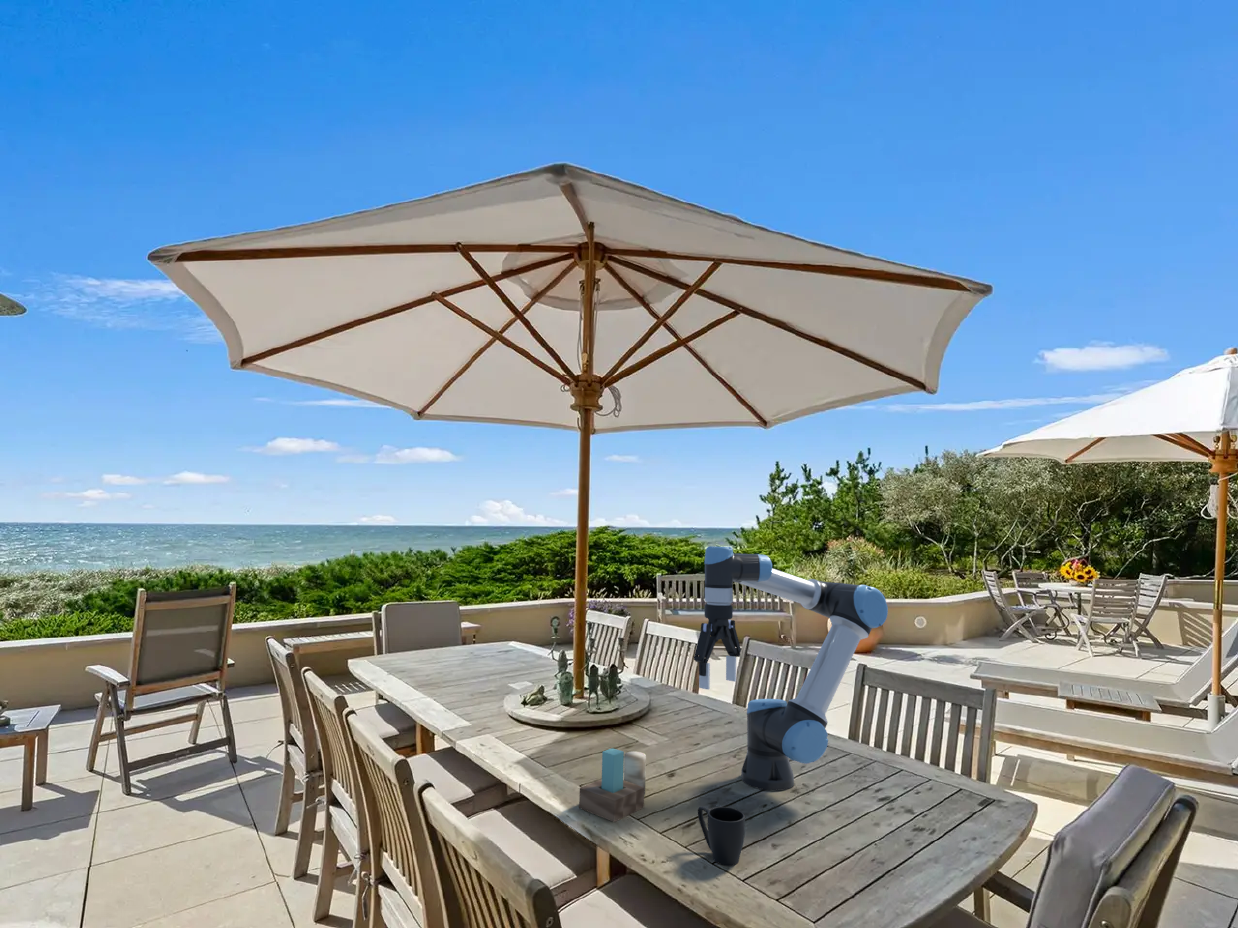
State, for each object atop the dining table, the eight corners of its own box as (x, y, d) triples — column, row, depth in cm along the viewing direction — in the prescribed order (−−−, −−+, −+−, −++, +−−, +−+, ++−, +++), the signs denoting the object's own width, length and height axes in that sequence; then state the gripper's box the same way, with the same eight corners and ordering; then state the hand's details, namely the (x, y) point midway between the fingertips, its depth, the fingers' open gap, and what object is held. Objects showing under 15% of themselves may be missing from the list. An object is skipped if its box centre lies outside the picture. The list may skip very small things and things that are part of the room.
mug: (711, 840, 149) (712, 797, 150) (752, 861, 140) (752, 815, 141) (687, 850, 144) (687, 806, 145) (727, 872, 135) (728, 825, 136)
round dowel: (632, 786, 181) (633, 749, 182) (649, 792, 177) (650, 754, 178) (619, 792, 176) (620, 754, 177) (636, 798, 172) (636, 760, 174)
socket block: (609, 794, 175) (609, 775, 175) (643, 807, 167) (644, 787, 168) (579, 807, 166) (579, 787, 166) (614, 821, 158) (614, 800, 158)
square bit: (611, 803, 169) (612, 748, 171) (622, 807, 167) (623, 751, 168) (601, 807, 166) (602, 751, 168) (612, 812, 164) (613, 755, 165)
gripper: (729, 599, 185) (729, 675, 182) (680, 605, 166) (679, 689, 163) (753, 601, 180) (753, 679, 177) (705, 607, 161) (704, 694, 158)
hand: (718, 684), depth 170 cm, fingers open, 13 cm apart
